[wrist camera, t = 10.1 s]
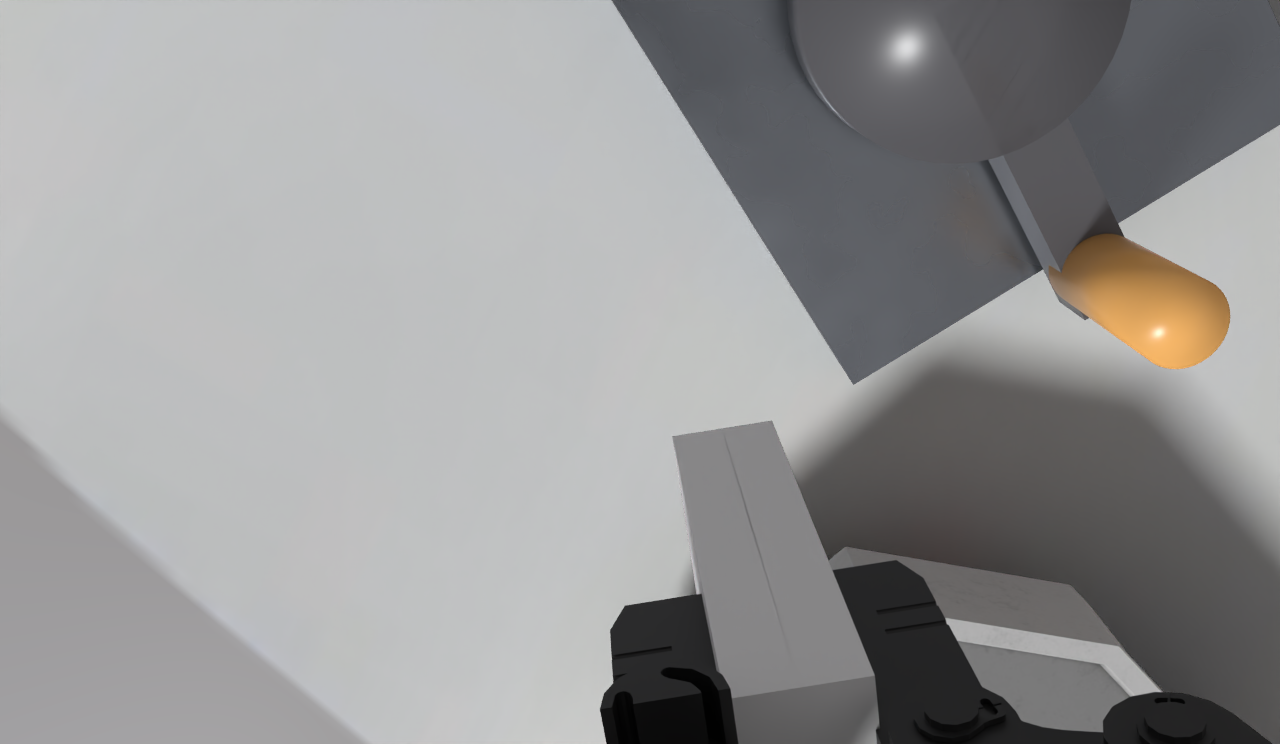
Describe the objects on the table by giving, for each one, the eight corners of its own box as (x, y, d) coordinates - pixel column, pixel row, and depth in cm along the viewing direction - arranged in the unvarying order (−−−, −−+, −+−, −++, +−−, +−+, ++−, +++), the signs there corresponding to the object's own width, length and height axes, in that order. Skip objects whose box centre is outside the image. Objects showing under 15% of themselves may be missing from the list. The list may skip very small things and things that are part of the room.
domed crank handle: (729, -66, 34) (765, -70, 27) (1021, -250, 33) (1133, -302, 26) (961, 363, 38) (1041, 449, 32) (1225, 214, 37) (1366, 271, 30)
